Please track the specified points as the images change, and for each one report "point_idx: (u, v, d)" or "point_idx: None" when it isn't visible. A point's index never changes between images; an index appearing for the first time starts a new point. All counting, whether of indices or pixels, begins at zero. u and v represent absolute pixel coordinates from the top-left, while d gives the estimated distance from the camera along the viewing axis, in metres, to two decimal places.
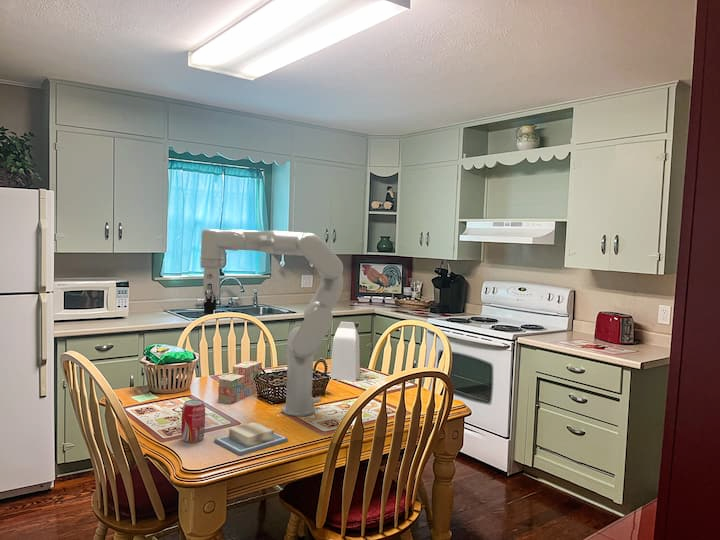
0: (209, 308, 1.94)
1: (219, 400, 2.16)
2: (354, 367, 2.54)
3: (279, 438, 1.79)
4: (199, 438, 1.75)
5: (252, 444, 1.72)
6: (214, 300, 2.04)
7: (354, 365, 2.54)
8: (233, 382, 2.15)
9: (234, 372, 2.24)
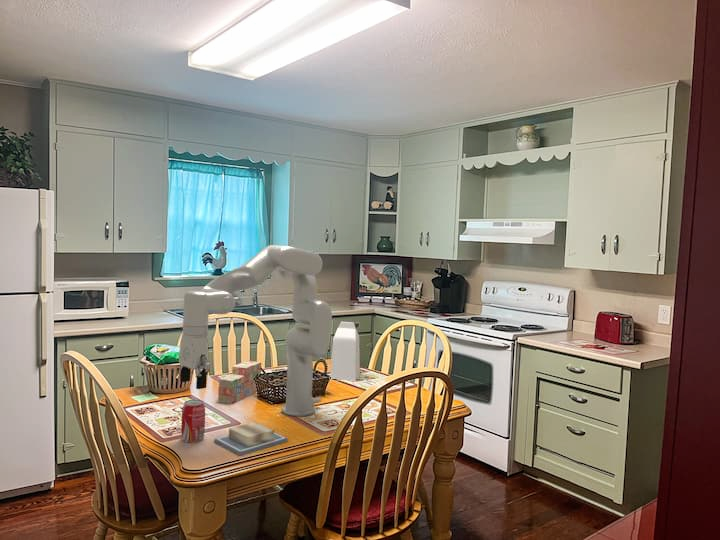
0: None
1: (219, 400, 2.16)
2: (354, 367, 2.54)
3: (279, 438, 1.79)
4: (199, 438, 1.75)
5: (252, 444, 1.72)
6: None
7: (354, 365, 2.54)
8: (233, 382, 2.14)
9: (234, 372, 2.23)
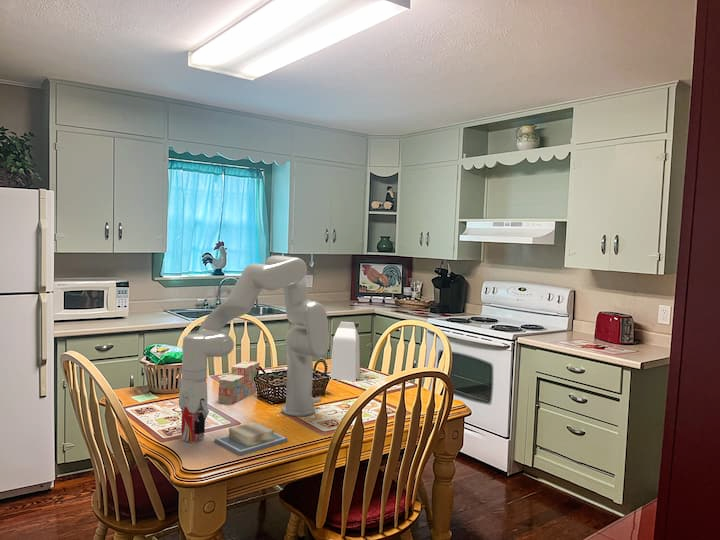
0: None
1: (219, 401, 2.15)
2: (354, 367, 2.54)
3: (279, 438, 1.79)
4: (199, 438, 1.75)
5: (252, 444, 1.72)
6: None
7: (354, 365, 2.54)
8: (234, 382, 2.14)
9: (233, 372, 2.23)
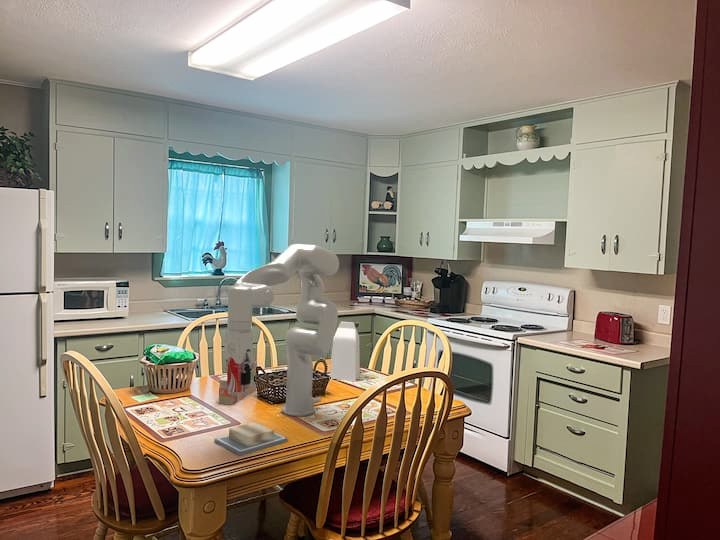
0: None
1: (220, 401, 2.15)
2: (354, 367, 2.54)
3: (279, 438, 1.79)
4: (245, 389, 1.75)
5: (252, 444, 1.72)
6: None
7: (354, 365, 2.54)
8: None
9: None
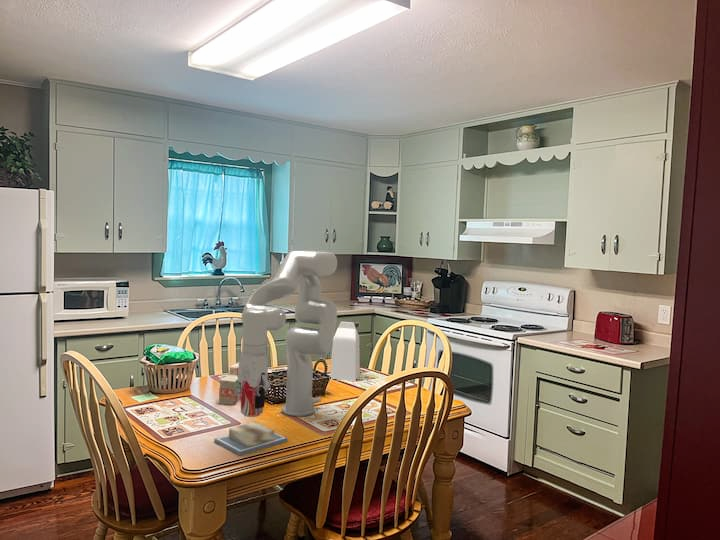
0: None
1: (220, 402, 2.14)
2: (354, 367, 2.54)
3: (279, 438, 1.79)
4: (259, 413, 1.75)
5: (252, 444, 1.72)
6: None
7: (354, 365, 2.54)
8: (235, 383, 2.14)
9: (231, 373, 2.22)
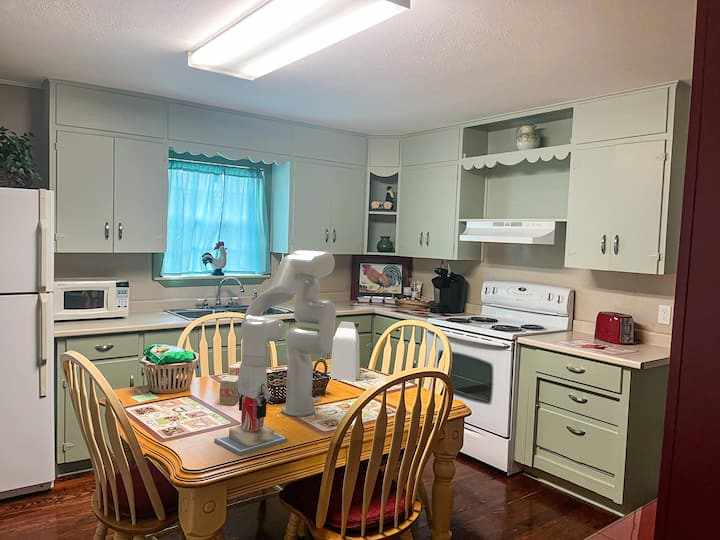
0: None
1: (220, 402, 2.14)
2: (354, 367, 2.54)
3: (279, 438, 1.79)
4: (259, 428, 1.75)
5: (252, 444, 1.72)
6: None
7: (354, 365, 2.54)
8: None
9: (231, 373, 2.22)
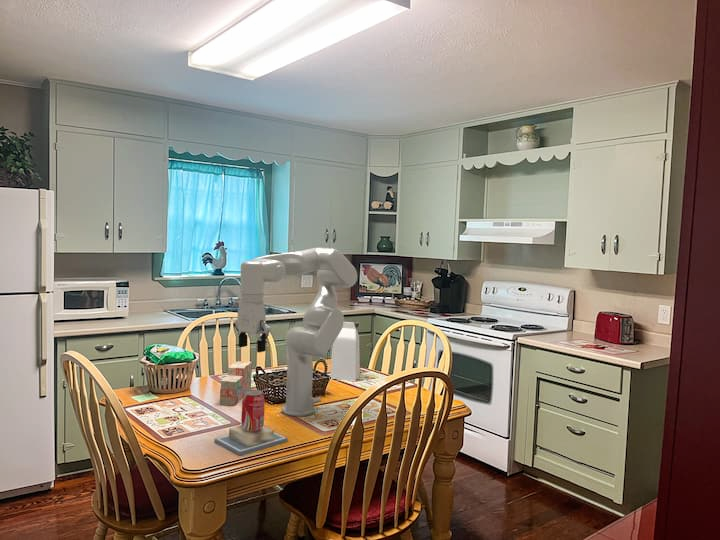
0: None
1: (221, 402, 2.13)
2: (354, 367, 2.54)
3: (279, 438, 1.79)
4: (259, 428, 1.75)
5: (252, 444, 1.72)
6: None
7: (354, 365, 2.54)
8: (236, 383, 2.13)
9: (230, 373, 2.22)
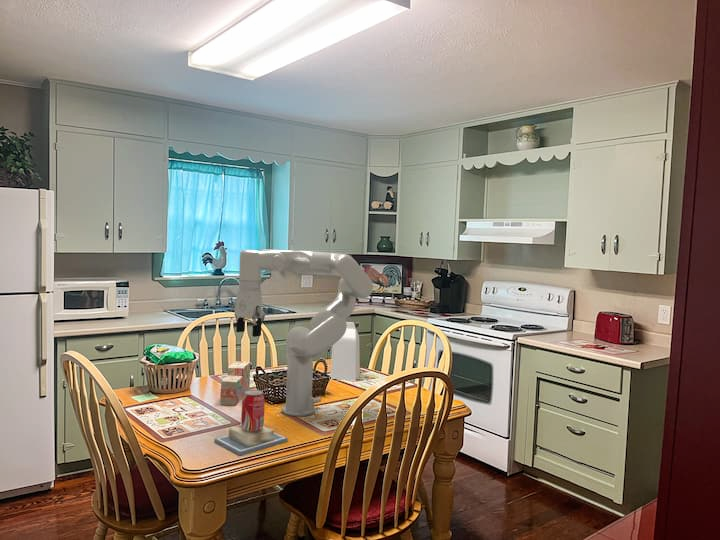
0: None
1: (221, 403, 2.13)
2: (354, 367, 2.54)
3: (279, 438, 1.79)
4: (259, 428, 1.75)
5: (252, 444, 1.72)
6: None
7: (354, 365, 2.54)
8: (237, 383, 2.13)
9: (230, 373, 2.21)
